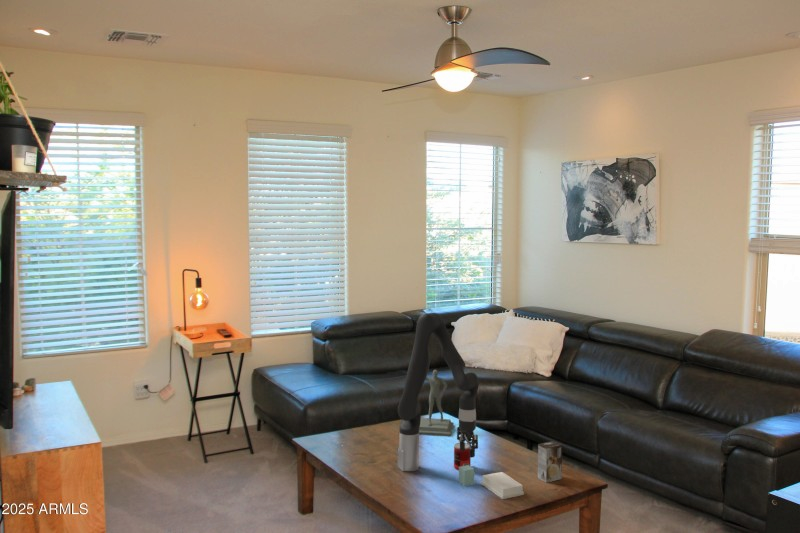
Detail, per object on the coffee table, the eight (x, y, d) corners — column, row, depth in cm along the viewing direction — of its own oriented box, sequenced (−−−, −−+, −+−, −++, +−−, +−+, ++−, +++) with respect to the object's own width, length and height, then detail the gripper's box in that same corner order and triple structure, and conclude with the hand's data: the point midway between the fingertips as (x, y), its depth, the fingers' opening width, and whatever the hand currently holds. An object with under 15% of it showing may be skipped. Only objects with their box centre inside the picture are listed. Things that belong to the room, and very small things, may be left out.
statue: (412, 434, 359) (413, 369, 355) (417, 422, 378) (418, 361, 375) (450, 436, 355) (451, 371, 352) (453, 425, 374) (454, 363, 371)
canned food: (472, 466, 314) (472, 443, 313) (467, 472, 307) (467, 449, 306) (457, 463, 317) (457, 441, 316) (451, 469, 310) (451, 446, 309)
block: (464, 486, 291) (464, 470, 291) (458, 482, 296) (458, 466, 295) (474, 484, 293) (474, 469, 293) (468, 480, 298) (468, 465, 297)
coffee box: (552, 474, 305) (553, 440, 304) (562, 479, 299) (563, 444, 298) (536, 478, 301) (537, 443, 299) (546, 483, 295) (547, 448, 294)
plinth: (502, 499, 278) (502, 490, 278) (481, 483, 294) (481, 475, 293) (524, 494, 283) (524, 485, 283) (502, 479, 298) (502, 471, 298)
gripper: (452, 414, 297) (451, 450, 299) (468, 424, 284) (468, 460, 286) (466, 412, 300) (466, 447, 302) (483, 421, 287) (483, 457, 289)
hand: (467, 453), depth 294 cm, fingers open, 8 cm apart
